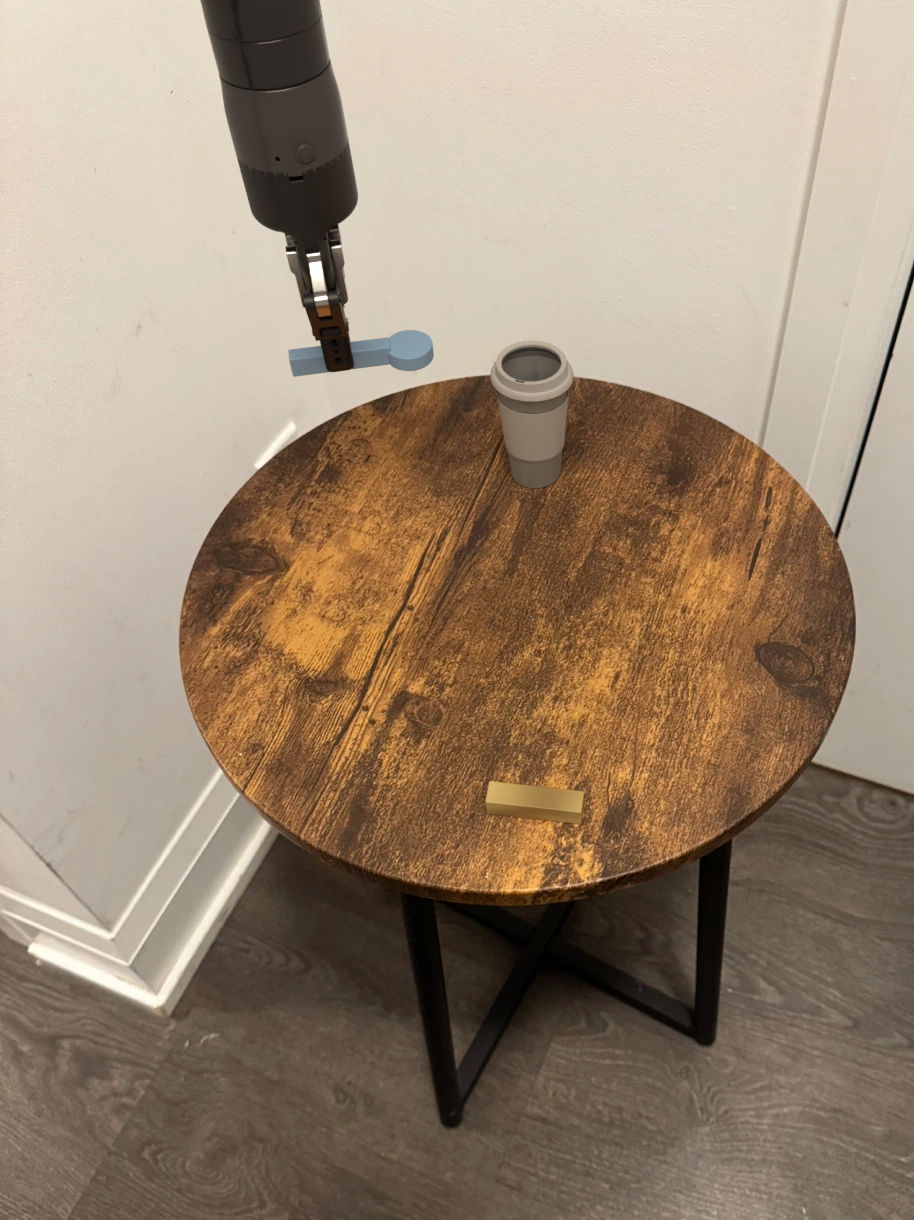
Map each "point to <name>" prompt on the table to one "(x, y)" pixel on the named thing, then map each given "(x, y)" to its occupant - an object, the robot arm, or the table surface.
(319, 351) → the spoon
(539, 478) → the cup
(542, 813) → the fry stick
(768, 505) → the table surface
